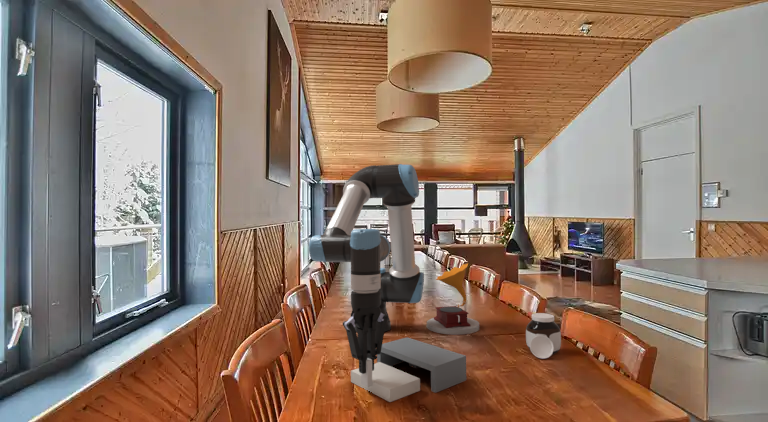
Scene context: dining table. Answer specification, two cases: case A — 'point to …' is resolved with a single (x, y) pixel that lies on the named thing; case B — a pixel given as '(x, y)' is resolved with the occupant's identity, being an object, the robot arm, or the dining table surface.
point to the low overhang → (426, 361)
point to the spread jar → (543, 335)
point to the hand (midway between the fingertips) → (366, 384)
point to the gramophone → (453, 308)
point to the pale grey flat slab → (388, 382)
